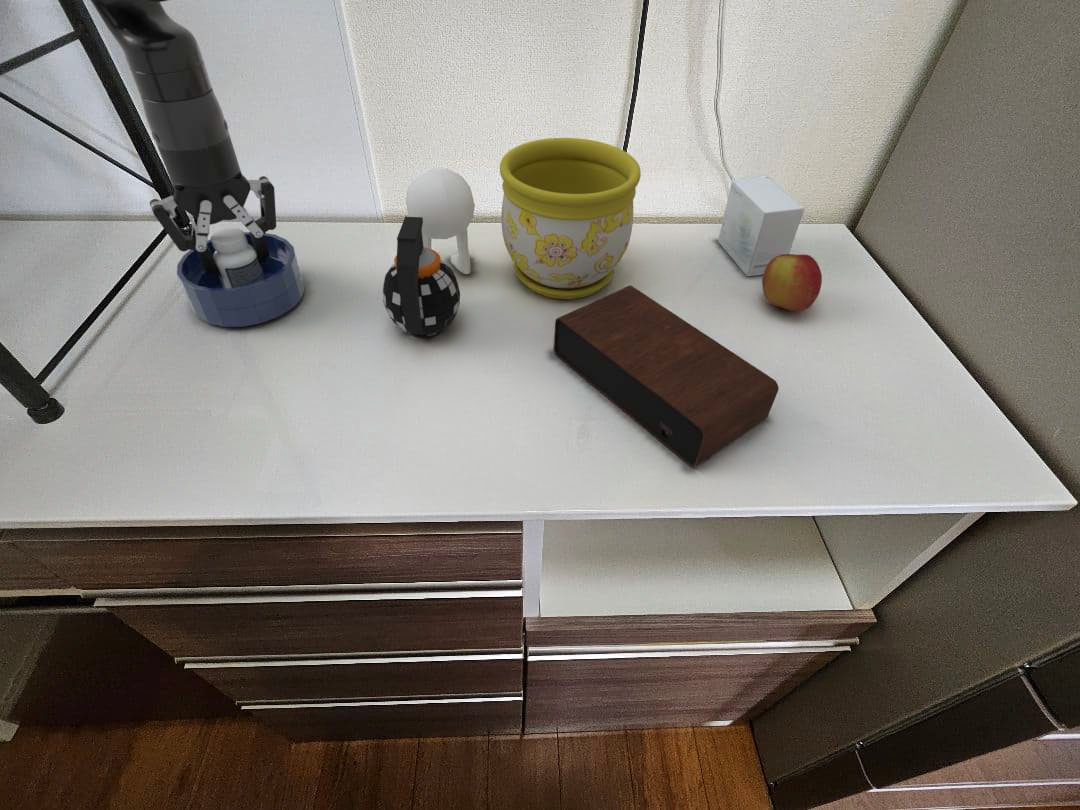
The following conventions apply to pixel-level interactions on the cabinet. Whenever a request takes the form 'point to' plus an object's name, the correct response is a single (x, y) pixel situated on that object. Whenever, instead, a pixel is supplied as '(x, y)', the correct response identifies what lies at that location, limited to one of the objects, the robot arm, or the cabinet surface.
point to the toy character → (443, 210)
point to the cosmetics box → (758, 223)
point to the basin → (244, 287)
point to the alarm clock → (664, 373)
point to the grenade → (419, 285)
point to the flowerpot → (567, 213)
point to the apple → (792, 281)
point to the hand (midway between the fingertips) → (238, 266)
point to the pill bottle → (235, 259)
